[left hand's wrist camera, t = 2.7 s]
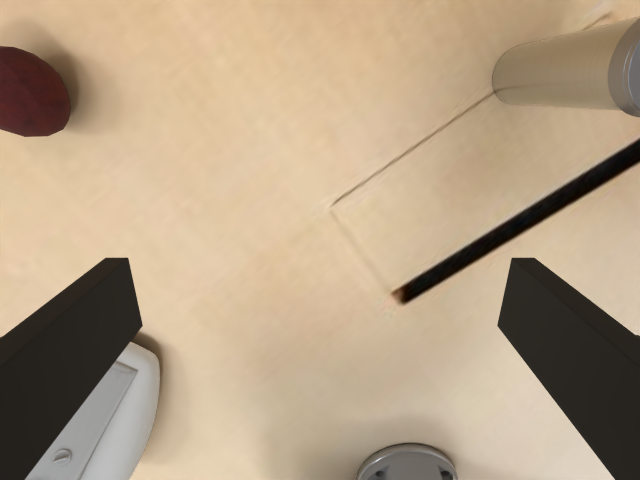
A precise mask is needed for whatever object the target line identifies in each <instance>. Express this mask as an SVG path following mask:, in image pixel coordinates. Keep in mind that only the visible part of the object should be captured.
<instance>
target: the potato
mask: <svg viewBox="0 0 640 480" xmlns="http://www.w3.org/2000/svg"><path fill="white" fill-rule="evenodd" d="M70 109H71V107H70V102H69V97H68V91H67V89H66V87H65V85H64V83H63V81H62V79H61V77H60V75H59V74H58V73H57V72H56V71H55V70H54V69H53V68H52V67H51V66H50V65H49V64H48V63H46V62H45V61H43V60H42V59H40V58H39V57H37V56H36V55H34V54H32V53H29V52H27V51H24V50H21V49H18V48H15V47H4V46H0V129H1V130H5V131H8V132H11V133H15V134H18V135H21V136H24V137H33V136H49V135H52V134H54V133H56V132H58V131H61V130H63V129H64V127H65V125H66V124H67V122H68V121H69V116H70Z"/></svg>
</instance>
